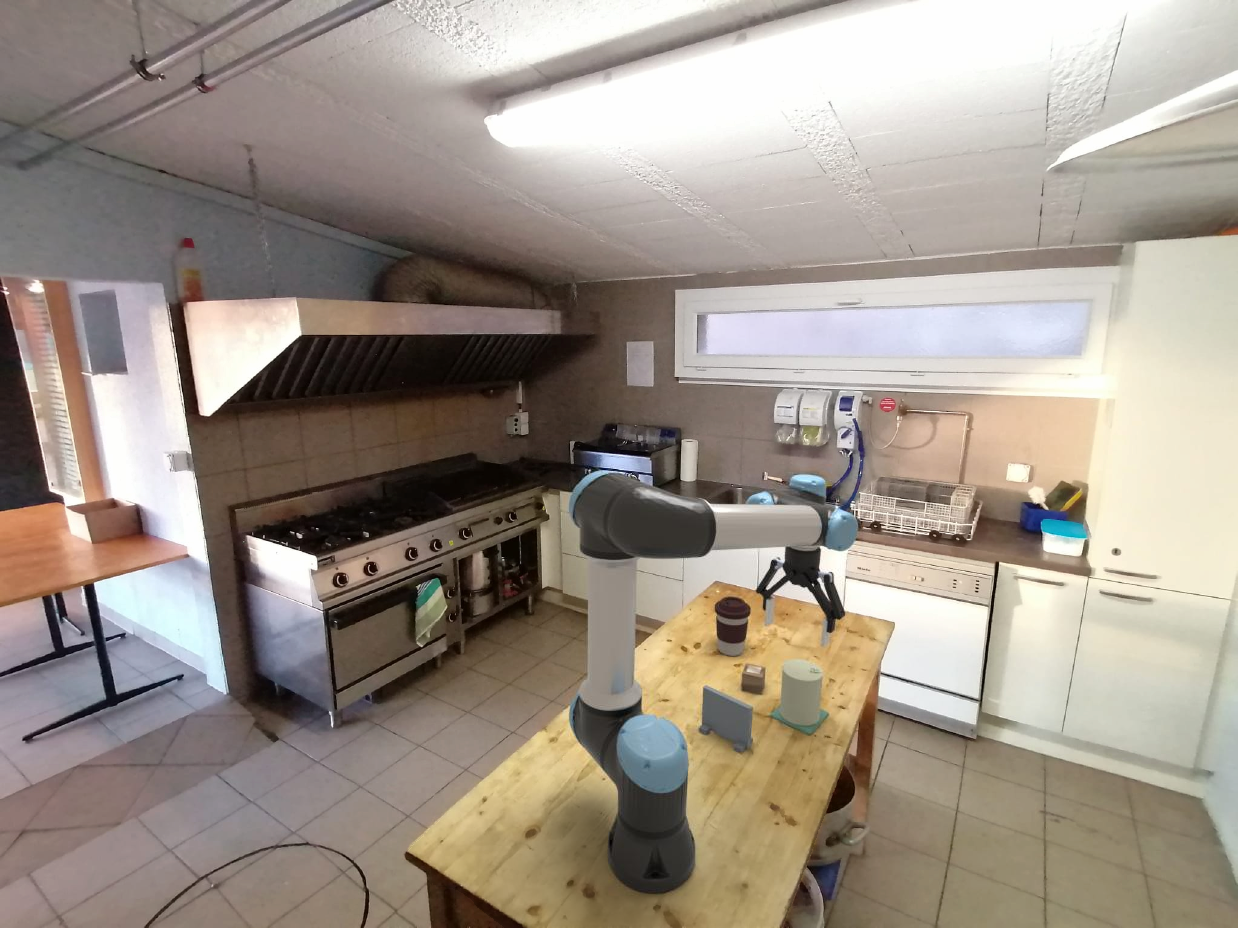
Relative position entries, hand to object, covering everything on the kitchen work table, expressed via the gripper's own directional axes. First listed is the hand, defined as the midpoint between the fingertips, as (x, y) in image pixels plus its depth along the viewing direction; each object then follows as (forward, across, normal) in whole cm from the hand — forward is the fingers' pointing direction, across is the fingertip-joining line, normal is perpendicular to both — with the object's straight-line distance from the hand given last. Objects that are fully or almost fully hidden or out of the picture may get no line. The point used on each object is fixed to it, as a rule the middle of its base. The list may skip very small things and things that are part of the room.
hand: (796, 634), depth 134 cm
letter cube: (+22, +13, -5) cm, 26 cm away
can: (+21, -1, -2) cm, 21 cm away
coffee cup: (+22, +27, -17) cm, 38 cm away
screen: (+22, +8, +16) cm, 28 cm away
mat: (+22, -1, -2) cm, 22 cm away
